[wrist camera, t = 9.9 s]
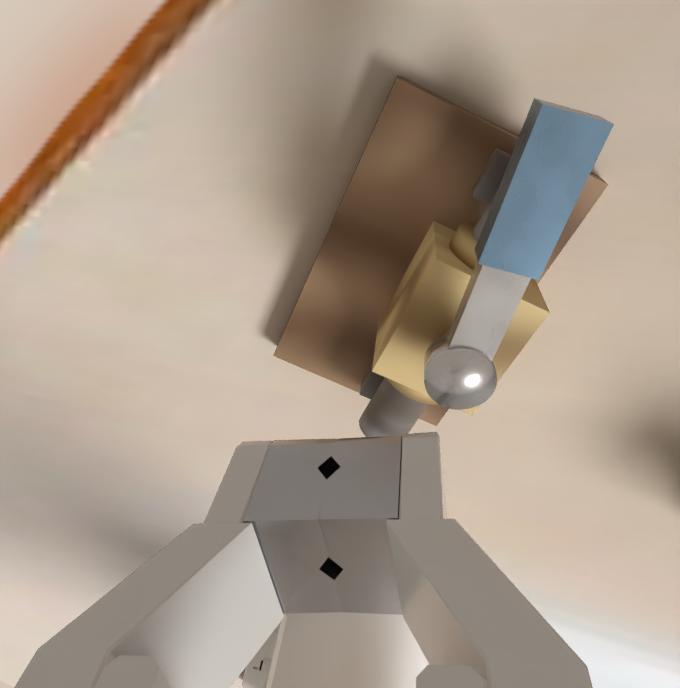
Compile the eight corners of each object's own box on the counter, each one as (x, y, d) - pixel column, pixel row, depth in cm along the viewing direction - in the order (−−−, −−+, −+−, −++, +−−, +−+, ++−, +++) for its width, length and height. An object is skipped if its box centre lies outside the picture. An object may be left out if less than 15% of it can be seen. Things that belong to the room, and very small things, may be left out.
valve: (435, 415, 38) (439, 504, 31) (277, 346, 37) (244, 423, 30) (601, 178, 29) (659, 230, 22) (397, 75, 28) (390, 95, 21)
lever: (478, 396, 27) (481, 417, 25) (415, 379, 27) (414, 399, 25) (609, 118, 20) (623, 126, 18) (525, 95, 20) (532, 101, 18)
